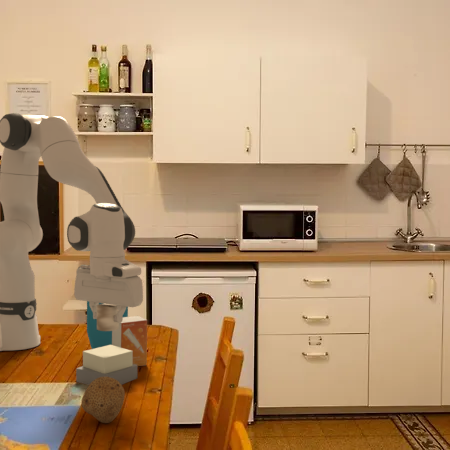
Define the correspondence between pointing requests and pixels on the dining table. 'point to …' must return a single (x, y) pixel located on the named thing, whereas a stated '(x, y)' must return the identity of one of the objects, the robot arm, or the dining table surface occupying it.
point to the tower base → (121, 375)
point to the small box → (132, 338)
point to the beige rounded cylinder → (106, 317)
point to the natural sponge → (103, 399)
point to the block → (95, 335)
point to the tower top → (107, 358)
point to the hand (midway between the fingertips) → (107, 320)
